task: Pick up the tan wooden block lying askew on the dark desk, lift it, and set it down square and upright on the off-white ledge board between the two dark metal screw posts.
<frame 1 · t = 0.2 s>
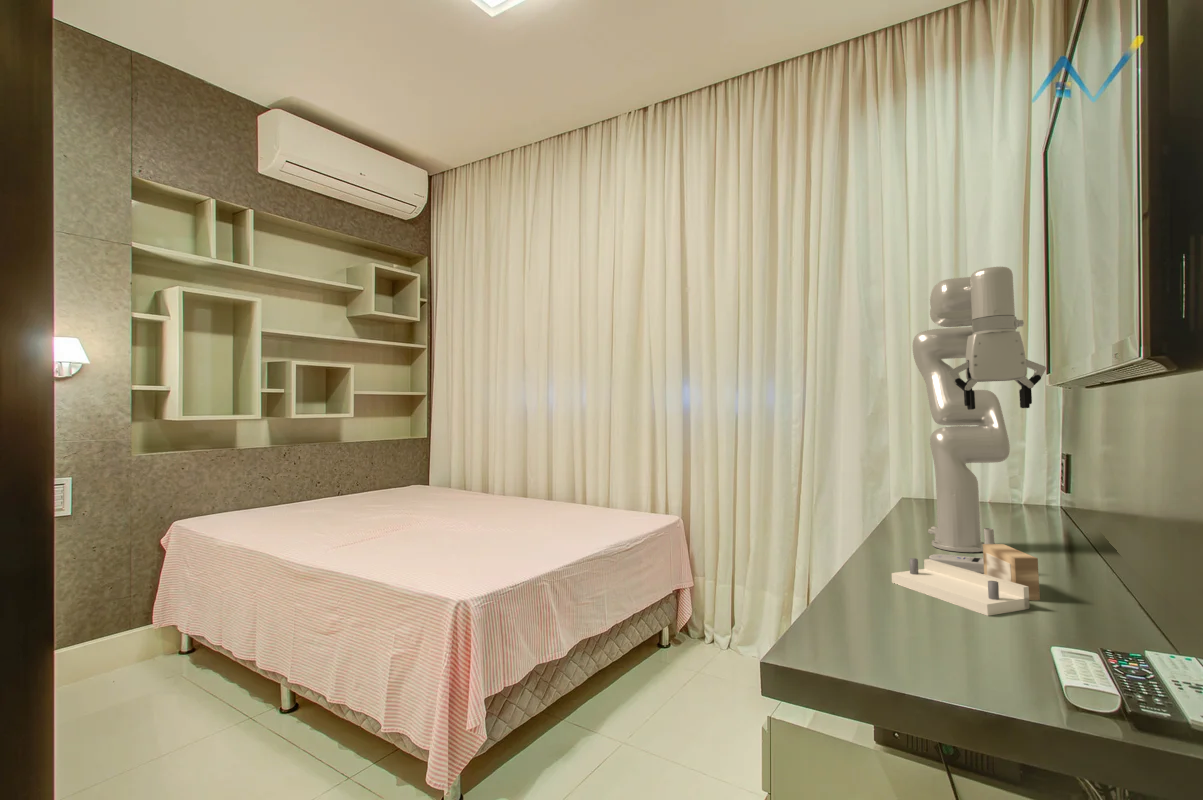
hand: (997, 408, 122), 36 cm above the table, tool pointing down, fingers open, 9 cm apart
ledge: (955, 594, 115), on the table
electronic device: (966, 571, 133), on the table
tan wooden block: (1010, 591, 117), on the table
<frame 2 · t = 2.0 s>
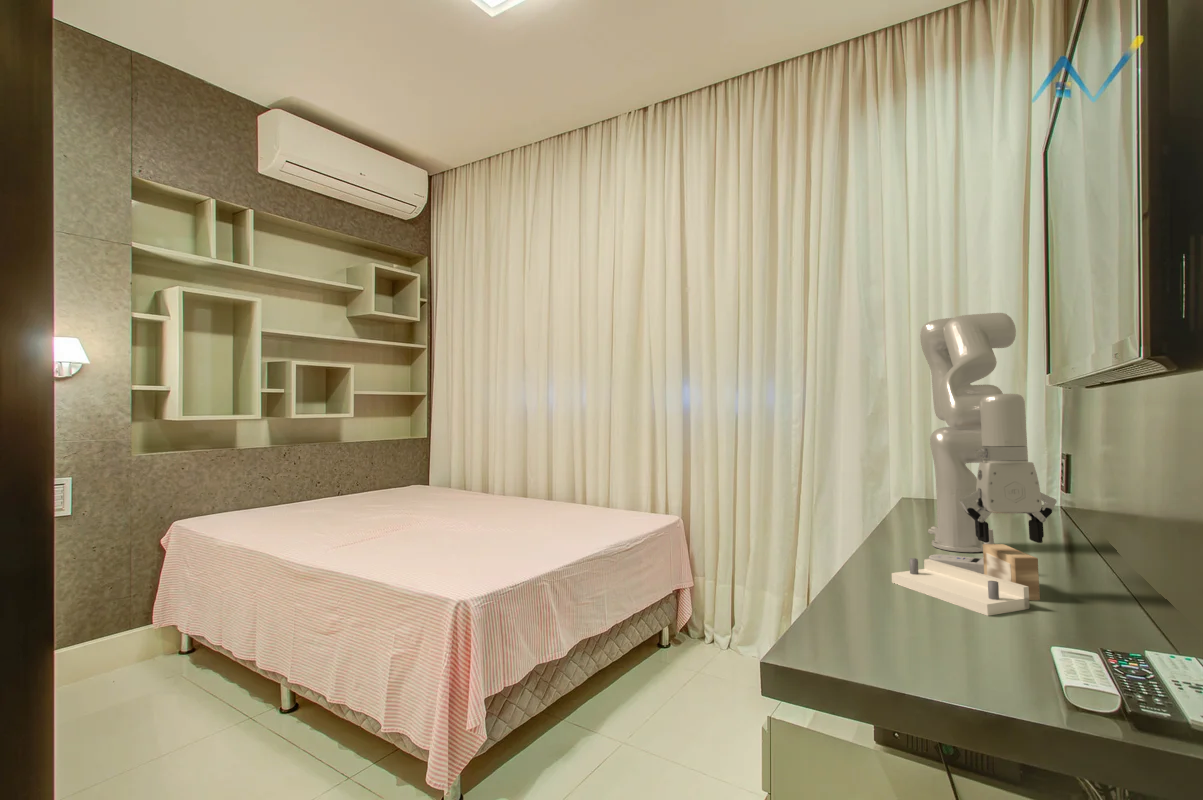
hand: (1009, 541, 116), 10 cm above the table, tool pointing down, fingers open, 9 cm apart
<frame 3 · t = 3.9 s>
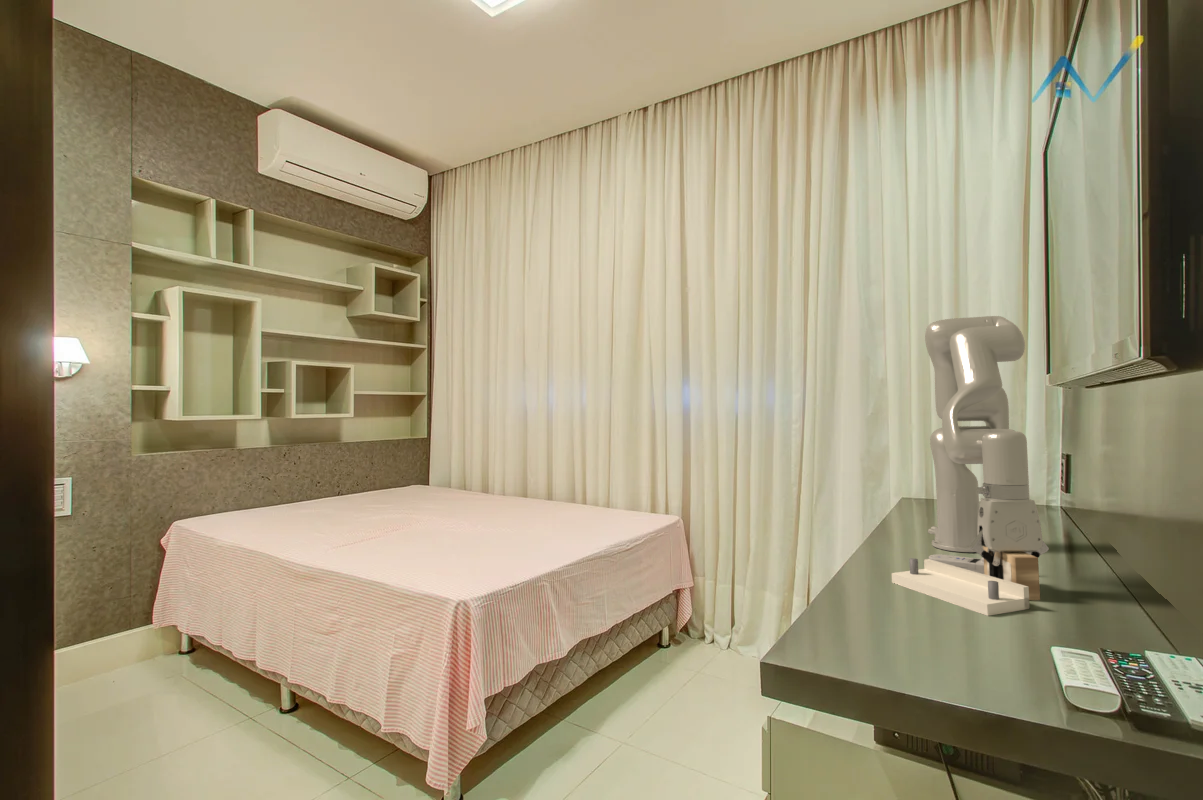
hand: (1010, 583, 117), 1 cm above the table, tool pointing down, fingers closed on tan wooden block, 4 cm apart
tan wooden block: (1011, 590, 117), on the table, touching gripper
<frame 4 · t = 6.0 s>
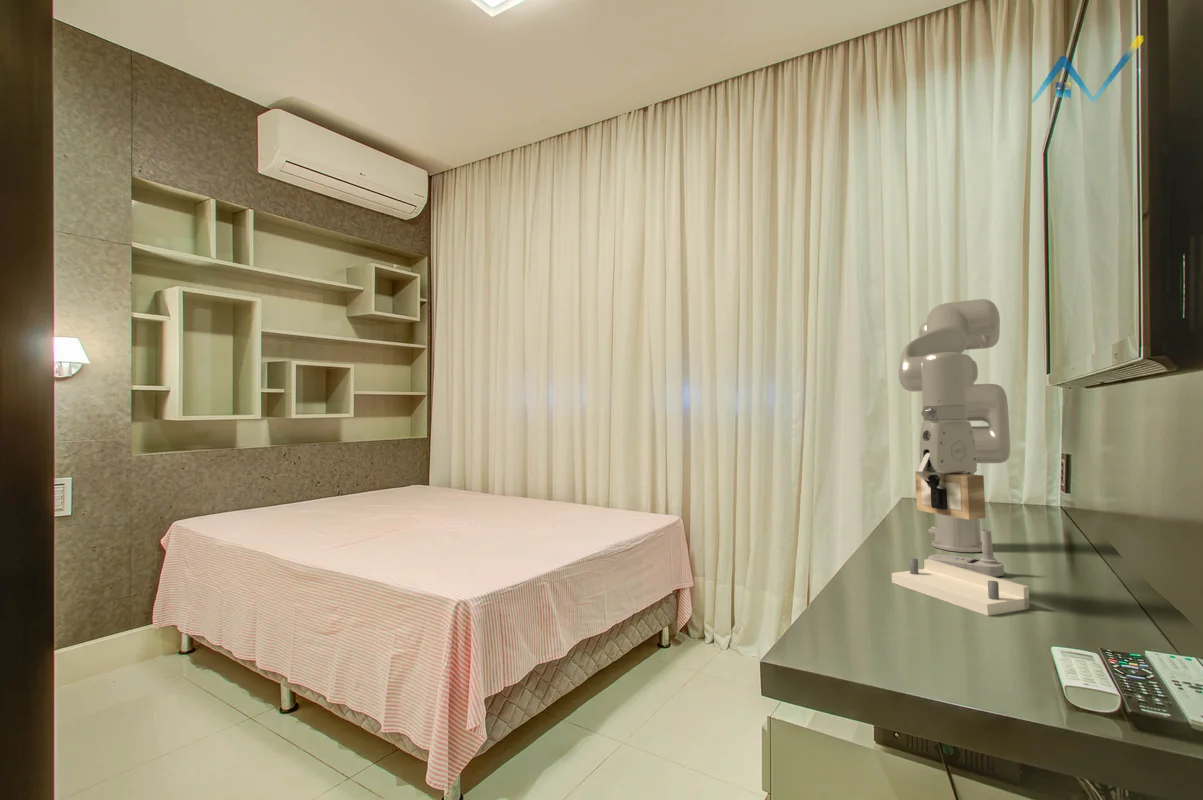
hand: (948, 506, 115), 17 cm above the table, tool pointing down, fingers closed on tan wooden block, 4 cm apart
tan wooden block: (949, 513, 115), point 16 cm above the table, touching gripper
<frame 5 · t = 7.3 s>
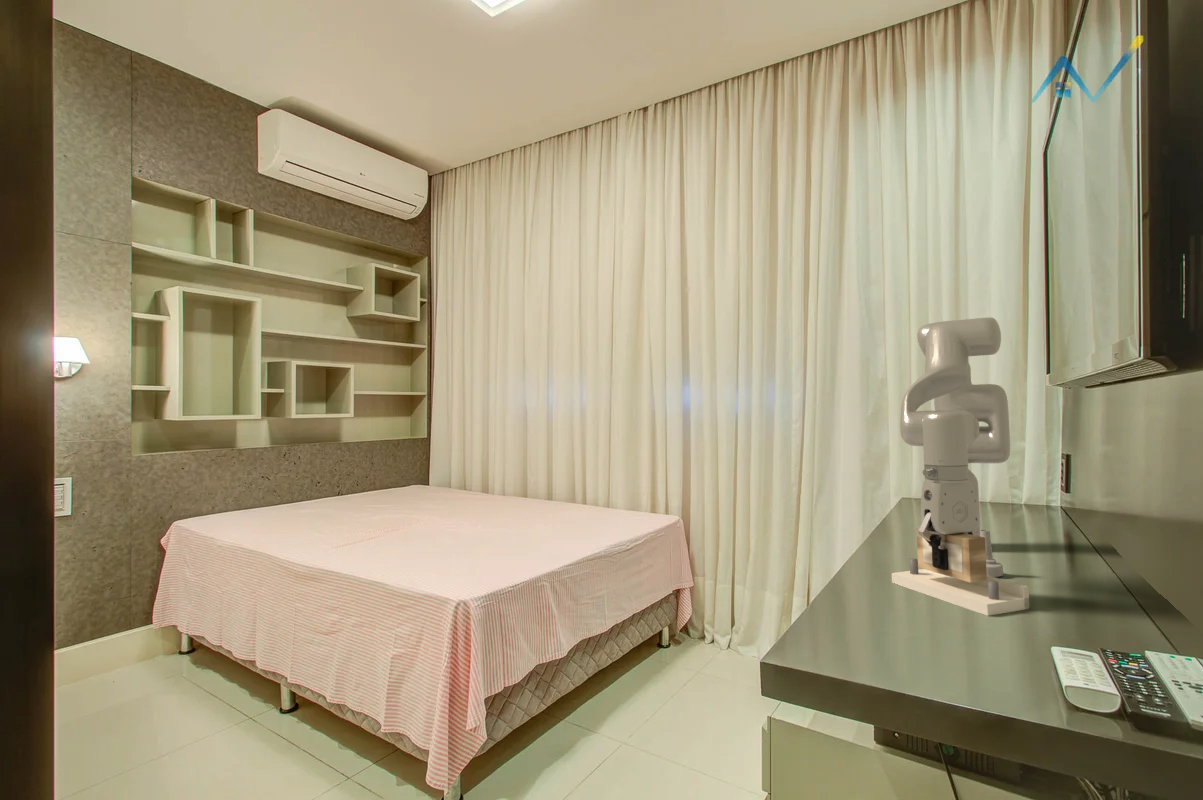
hand: (950, 566, 115), 6 cm above the table, tool pointing down, fingers closed on tan wooden block, 4 cm apart
tan wooden block: (950, 573, 115), point 4 cm above the table, touching gripper
when the fingers open (5 cm above the table, at t = 8.1 s): tan wooden block drops 1 cm, resting on ledge.
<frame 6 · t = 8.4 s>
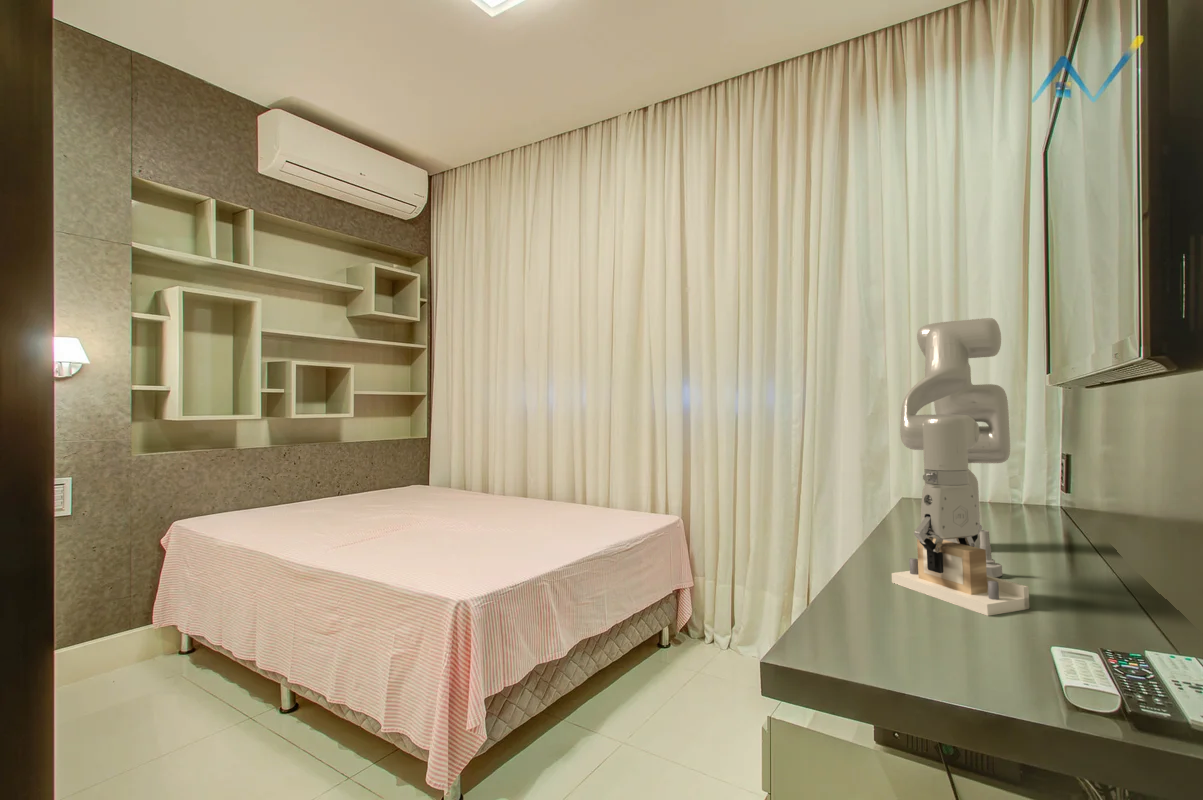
hand: (950, 568, 115), 5 cm above the table, tool pointing down, fingers open, 6 cm apart
tan wooden block: (951, 584, 115), point 2 cm above the table, touching ledge
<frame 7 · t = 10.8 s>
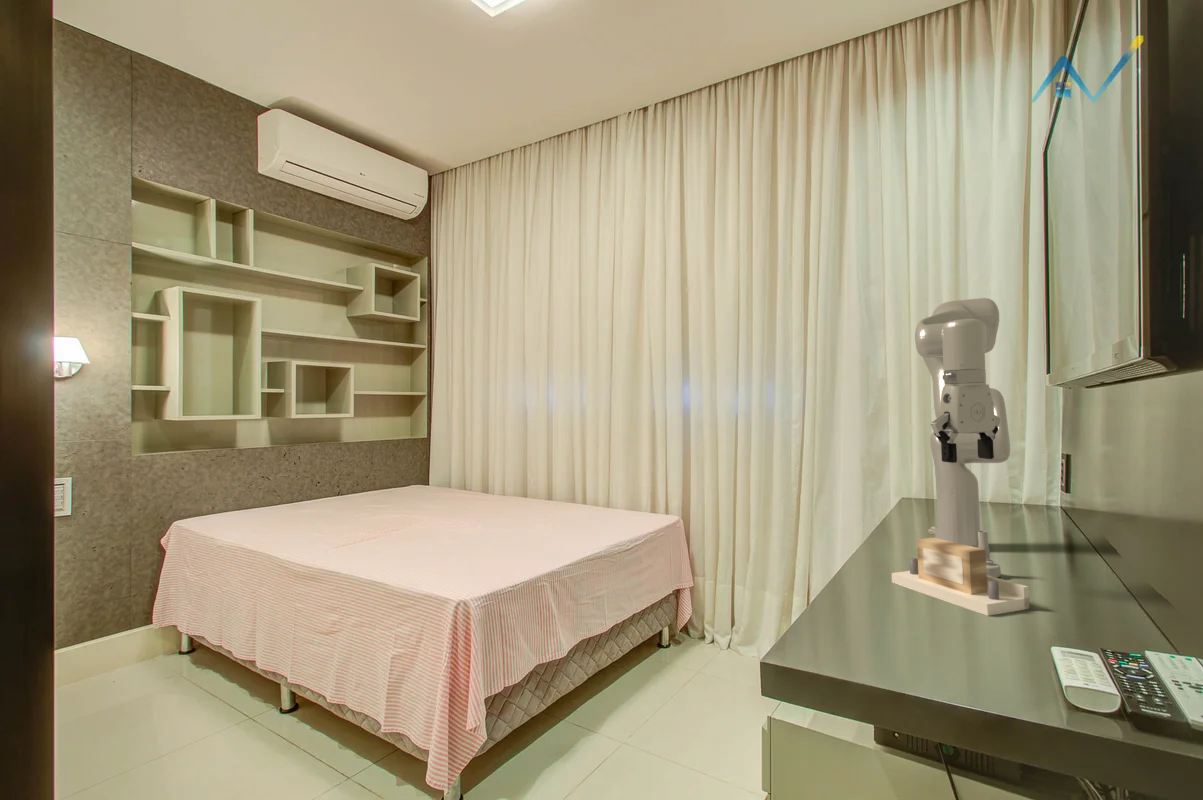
hand: (967, 460, 123), 26 cm above the table, tool pointing down, fingers open, 9 cm apart
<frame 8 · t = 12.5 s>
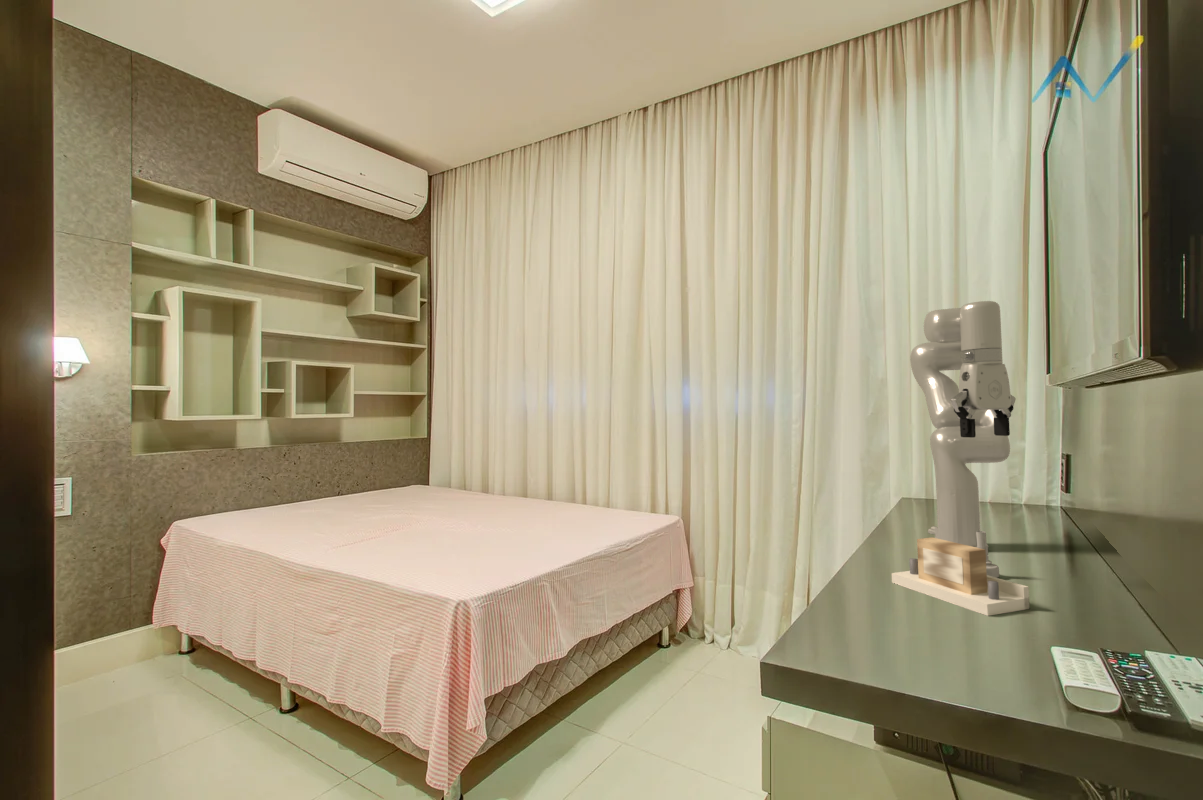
hand: (985, 436, 128), 30 cm above the table, tool pointing down, fingers open, 9 cm apart
at the end: tan wooden block inside the target area on the ledge (0.3 cm from its centre), point 2.0 cm above the ledge's base; tan wooden block tilted 0°; the gripper is holding nothing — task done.
